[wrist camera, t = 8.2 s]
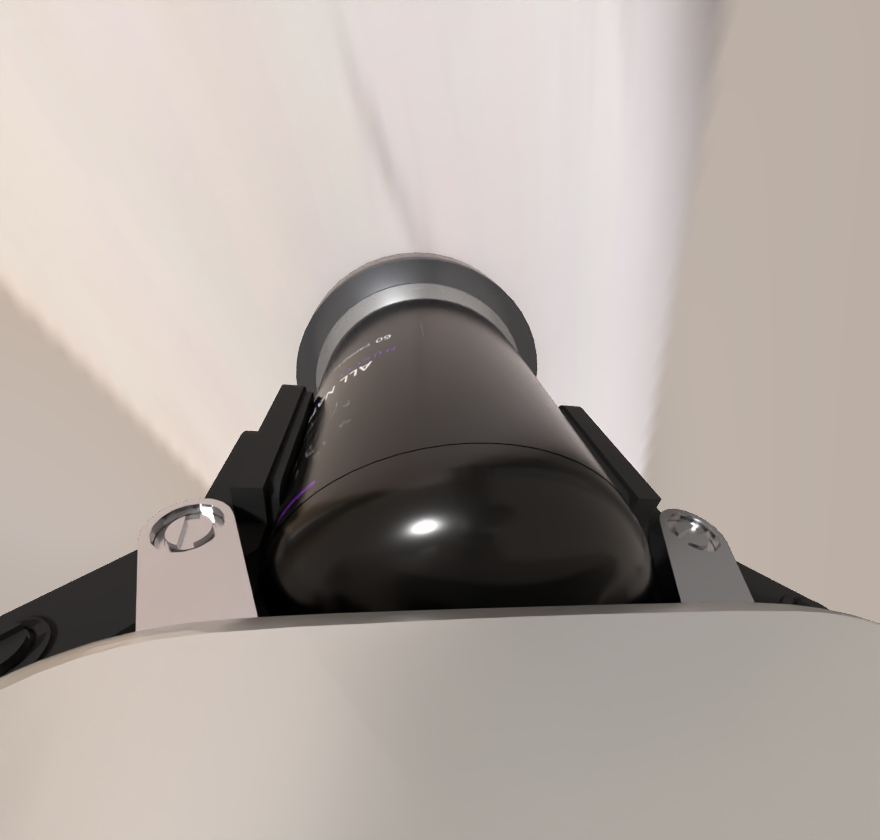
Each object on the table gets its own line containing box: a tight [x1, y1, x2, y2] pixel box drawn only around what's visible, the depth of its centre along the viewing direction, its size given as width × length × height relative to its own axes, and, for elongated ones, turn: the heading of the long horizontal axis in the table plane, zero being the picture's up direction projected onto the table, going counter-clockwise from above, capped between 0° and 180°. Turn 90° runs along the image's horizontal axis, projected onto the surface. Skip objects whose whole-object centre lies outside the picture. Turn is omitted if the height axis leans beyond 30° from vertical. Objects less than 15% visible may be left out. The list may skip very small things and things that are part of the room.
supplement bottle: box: [253, 298, 654, 617], centre depth 8 cm, size 7×7×12 cm
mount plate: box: [296, 253, 537, 401], centre depth 15 cm, size 9×9×2 cm
